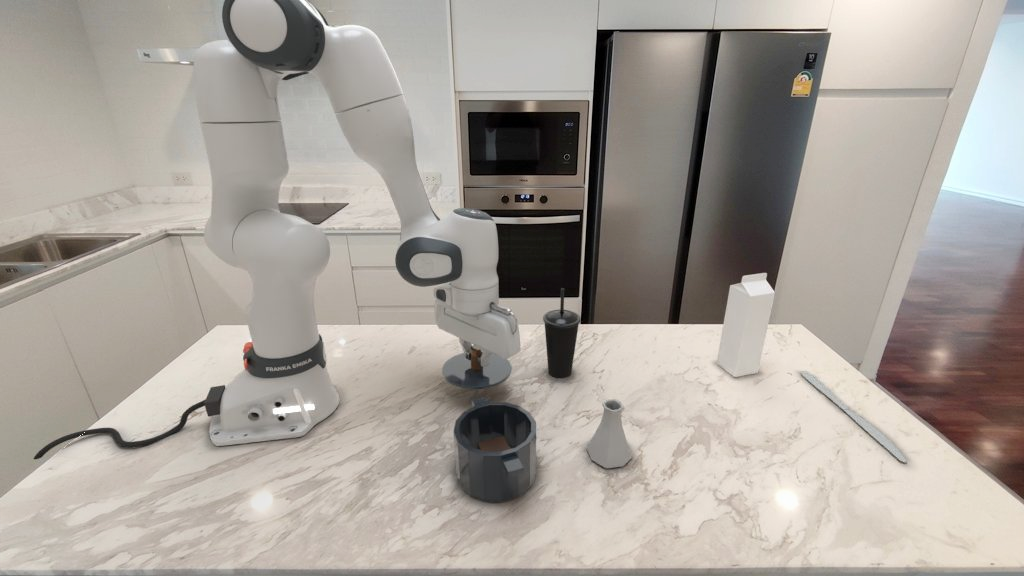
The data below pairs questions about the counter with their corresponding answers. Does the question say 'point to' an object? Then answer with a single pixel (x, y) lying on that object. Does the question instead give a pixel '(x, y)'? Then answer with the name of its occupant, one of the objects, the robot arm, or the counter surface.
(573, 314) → the drinking cup
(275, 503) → the counter surface
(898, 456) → the butter knife
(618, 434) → the flask
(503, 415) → the pot
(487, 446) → the block
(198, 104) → the robot arm
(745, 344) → the milk
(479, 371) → the lid
